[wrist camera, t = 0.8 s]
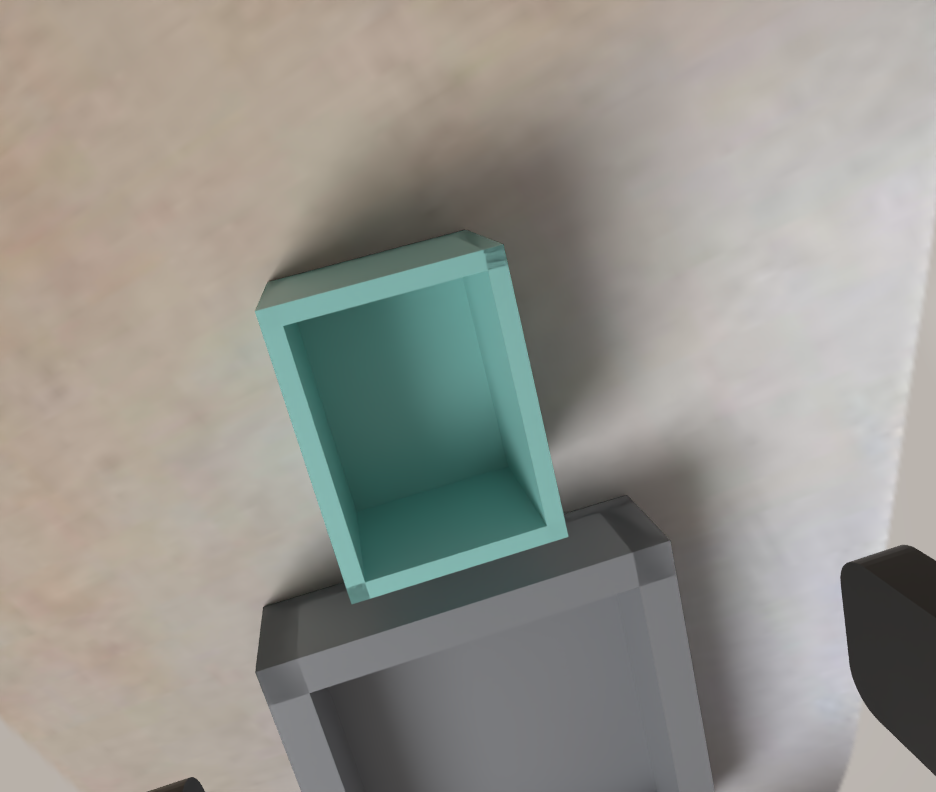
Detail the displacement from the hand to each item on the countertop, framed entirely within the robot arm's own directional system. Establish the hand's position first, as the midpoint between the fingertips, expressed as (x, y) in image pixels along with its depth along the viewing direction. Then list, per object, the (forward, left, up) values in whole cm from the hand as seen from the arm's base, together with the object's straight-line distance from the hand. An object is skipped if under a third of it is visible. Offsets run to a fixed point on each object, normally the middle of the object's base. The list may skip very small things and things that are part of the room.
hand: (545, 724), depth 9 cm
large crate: (+13, 0, -16) cm, 20 cm away
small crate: (0, 0, -16) cm, 16 cm away
